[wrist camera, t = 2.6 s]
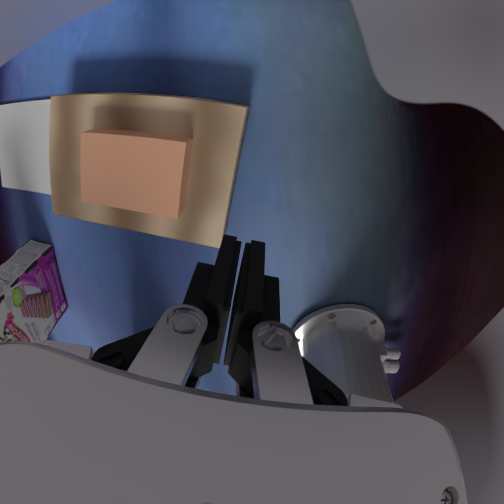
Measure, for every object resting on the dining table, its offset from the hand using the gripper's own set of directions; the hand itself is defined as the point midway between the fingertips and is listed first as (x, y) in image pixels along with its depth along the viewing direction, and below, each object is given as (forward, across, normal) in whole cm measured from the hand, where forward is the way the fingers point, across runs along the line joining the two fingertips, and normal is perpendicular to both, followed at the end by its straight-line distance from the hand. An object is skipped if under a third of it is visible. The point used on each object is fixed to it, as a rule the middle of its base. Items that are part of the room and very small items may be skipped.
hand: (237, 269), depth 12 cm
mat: (+16, +26, +1) cm, 31 cm away
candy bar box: (+16, +26, +19) cm, 35 cm away
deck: (+15, +10, +1) cm, 19 cm away
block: (+12, +10, +1) cm, 15 cm away
